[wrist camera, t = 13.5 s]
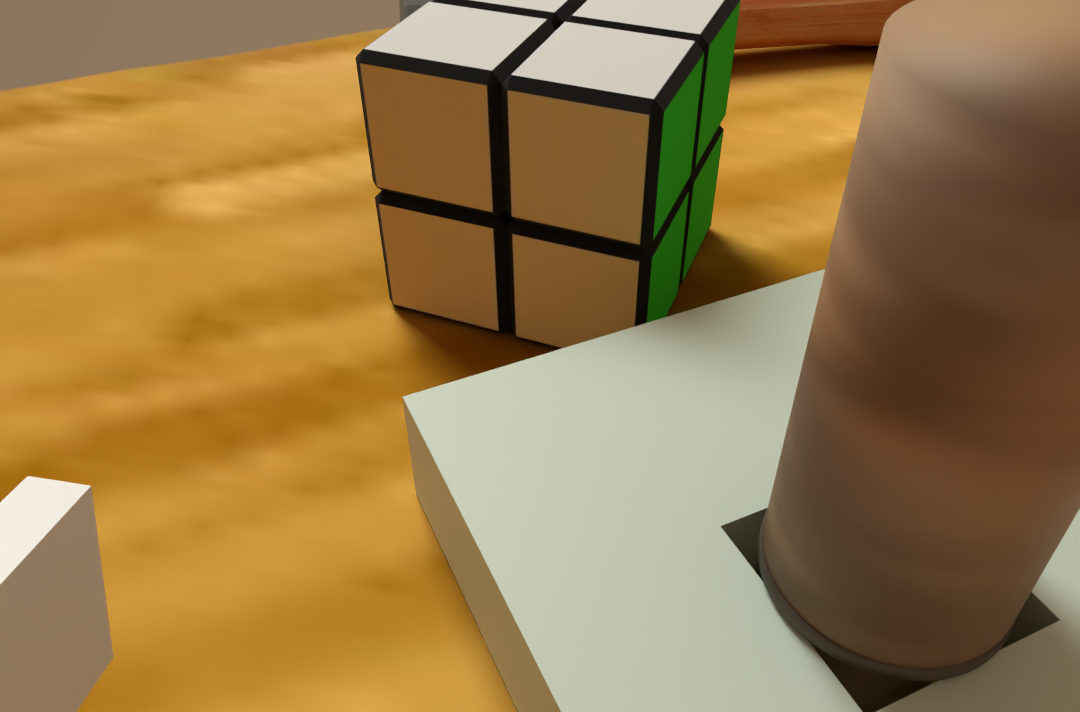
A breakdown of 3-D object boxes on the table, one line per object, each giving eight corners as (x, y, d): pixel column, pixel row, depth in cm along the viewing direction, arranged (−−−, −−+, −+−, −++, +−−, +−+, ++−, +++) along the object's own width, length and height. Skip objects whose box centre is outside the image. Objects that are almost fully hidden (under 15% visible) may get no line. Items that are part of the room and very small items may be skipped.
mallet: (906, -39, 54) (392, -15, 49) (963, -44, 49) (398, -18, 44) (898, 55, 56) (402, 88, 51) (952, 59, 51) (409, 96, 46)
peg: (692, 622, 24) (801, 18, 14) (858, 551, 26) (1068, -34, 16) (823, 817, 21) (1108, 189, 10) (1008, 719, 22) (1416, 95, 12)
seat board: (416, 494, 28) (402, 396, 25) (845, 348, 33) (870, 255, 30) (844, 1413, 14) (913, 1410, 11) (1472, 919, 19) (1621, 838, 16)
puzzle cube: (495, 183, 42) (485, -47, 35) (712, 228, 39) (745, -14, 32) (385, 309, 35) (347, 51, 28) (639, 375, 32) (662, 104, 25)
